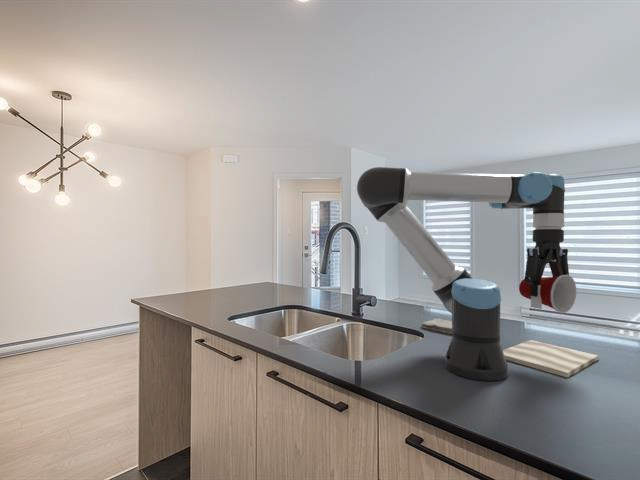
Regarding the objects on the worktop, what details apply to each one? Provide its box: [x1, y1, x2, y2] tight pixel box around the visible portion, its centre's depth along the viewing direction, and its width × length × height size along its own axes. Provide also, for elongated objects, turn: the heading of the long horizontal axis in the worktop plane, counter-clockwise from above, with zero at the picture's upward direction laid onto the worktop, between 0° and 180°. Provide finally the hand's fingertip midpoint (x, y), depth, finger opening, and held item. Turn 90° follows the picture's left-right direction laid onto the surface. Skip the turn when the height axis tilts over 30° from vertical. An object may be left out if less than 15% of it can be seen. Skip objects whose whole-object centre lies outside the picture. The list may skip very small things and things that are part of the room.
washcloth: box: [420, 318, 452, 335], centre depth 128 cm, size 12×18×3 cm, turn 43°
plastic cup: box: [518, 274, 577, 314], centre depth 97 cm, size 11×11×12 cm
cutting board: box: [502, 339, 600, 378], centre depth 97 cm, size 22×18×1 cm
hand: (546, 306), depth 97 cm, fingers closed on plastic cup, 8 cm apart
